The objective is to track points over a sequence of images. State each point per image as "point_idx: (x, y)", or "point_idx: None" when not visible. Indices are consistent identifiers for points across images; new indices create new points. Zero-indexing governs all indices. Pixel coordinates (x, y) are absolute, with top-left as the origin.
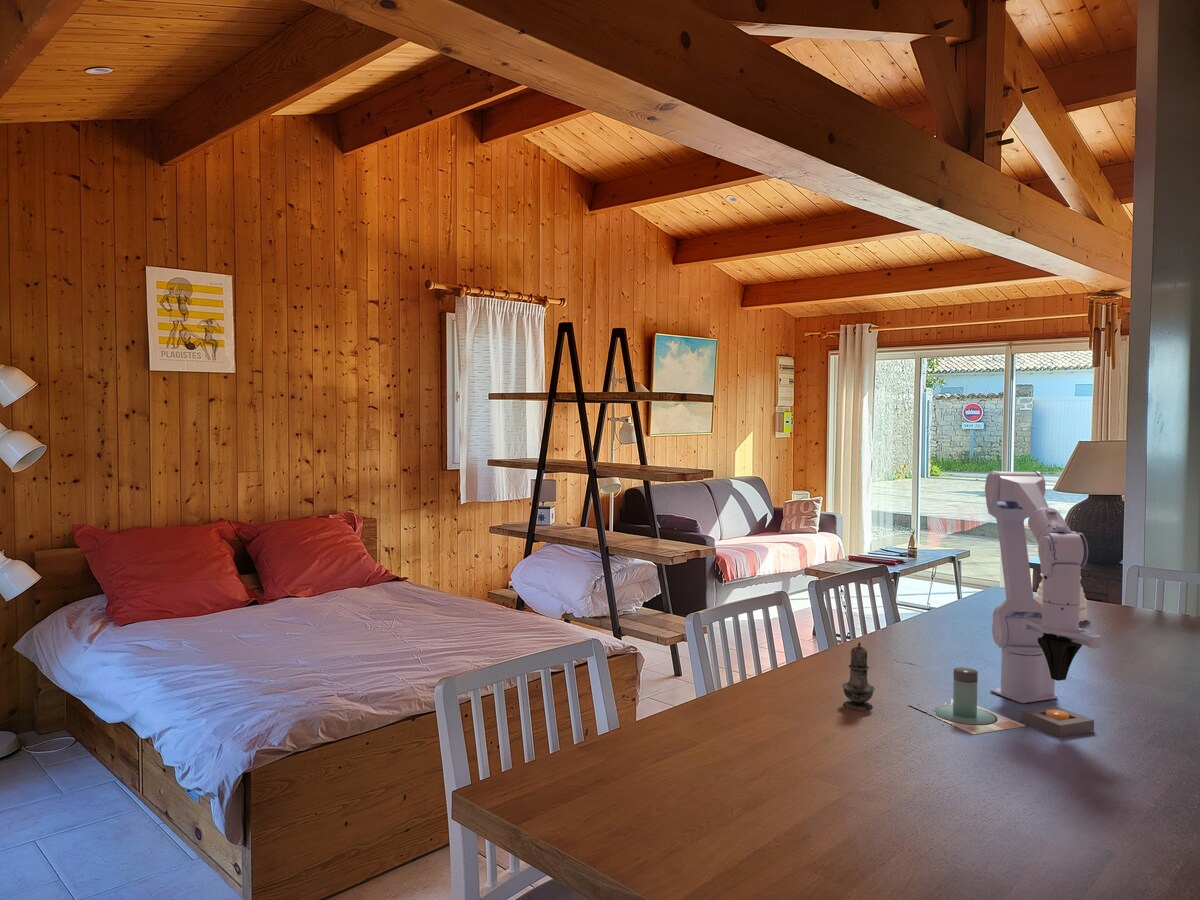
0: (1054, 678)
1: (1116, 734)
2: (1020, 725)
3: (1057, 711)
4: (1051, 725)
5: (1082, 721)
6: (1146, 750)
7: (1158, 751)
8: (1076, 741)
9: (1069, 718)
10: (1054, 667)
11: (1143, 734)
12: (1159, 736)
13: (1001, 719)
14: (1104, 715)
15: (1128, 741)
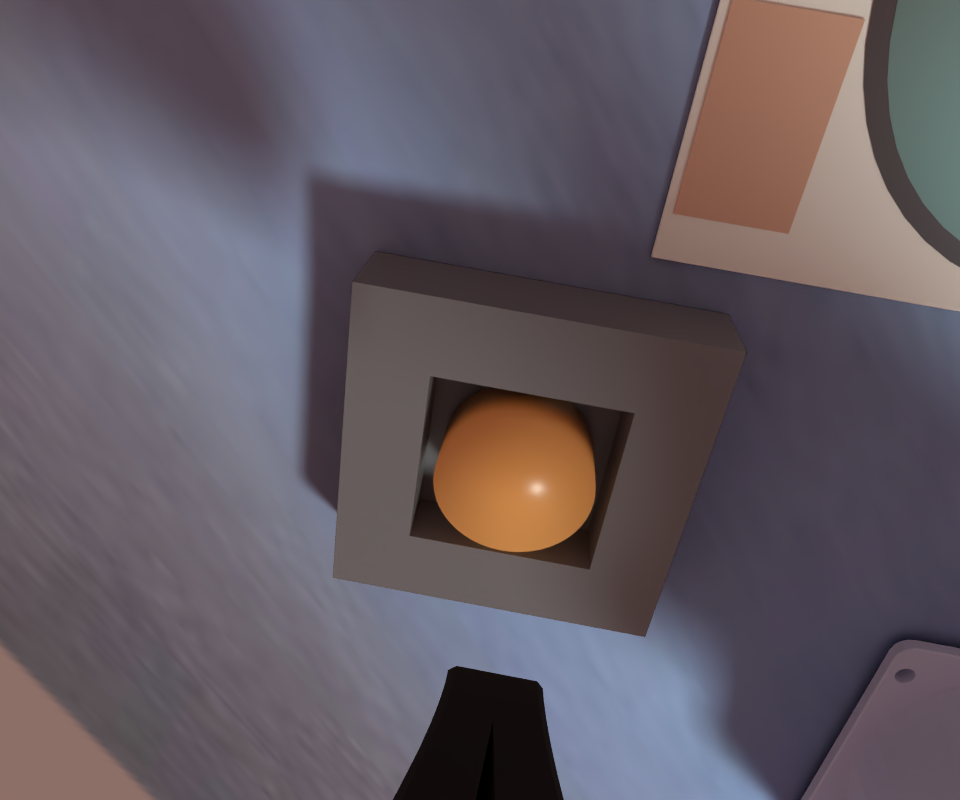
0: (487, 681)
1: (270, 578)
2: (676, 209)
3: (535, 520)
4: (441, 287)
5: (344, 496)
6: (33, 478)
7: (8, 512)
8: (274, 276)
9: None
10: (450, 795)
11: (220, 671)
12: (174, 696)
13: (861, 214)
14: None
15: (168, 530)
